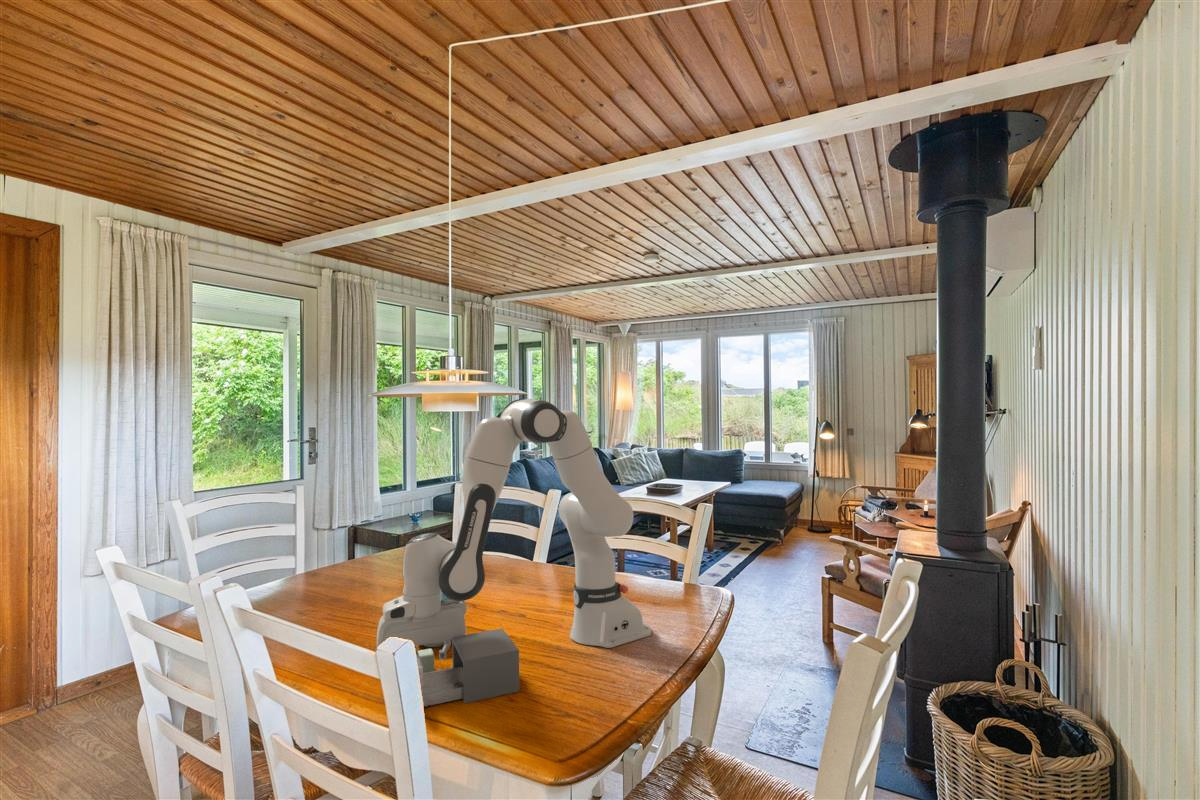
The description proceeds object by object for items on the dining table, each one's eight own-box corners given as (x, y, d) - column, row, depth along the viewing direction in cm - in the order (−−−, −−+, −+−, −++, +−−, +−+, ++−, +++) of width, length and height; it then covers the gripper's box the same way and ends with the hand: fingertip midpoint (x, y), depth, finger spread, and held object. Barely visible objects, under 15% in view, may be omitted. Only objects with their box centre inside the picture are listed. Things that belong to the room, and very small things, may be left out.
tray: (463, 673, 132) (463, 637, 132) (474, 697, 121) (474, 657, 121) (410, 684, 127) (410, 646, 127) (417, 710, 116) (416, 668, 116)
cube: (431, 667, 137) (431, 648, 137) (434, 674, 133) (434, 655, 133) (412, 670, 135) (412, 651, 135) (414, 678, 131) (414, 659, 131)
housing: (502, 665, 137) (502, 628, 137) (519, 691, 124) (519, 650, 124) (452, 675, 132) (452, 636, 132) (464, 703, 119) (464, 660, 119)
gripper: (463, 593, 141) (463, 649, 141) (376, 605, 133) (375, 664, 132) (469, 601, 135) (468, 659, 135) (377, 613, 127) (377, 676, 126)
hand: (422, 662), depth 133 cm, fingers open, 8 cm apart
